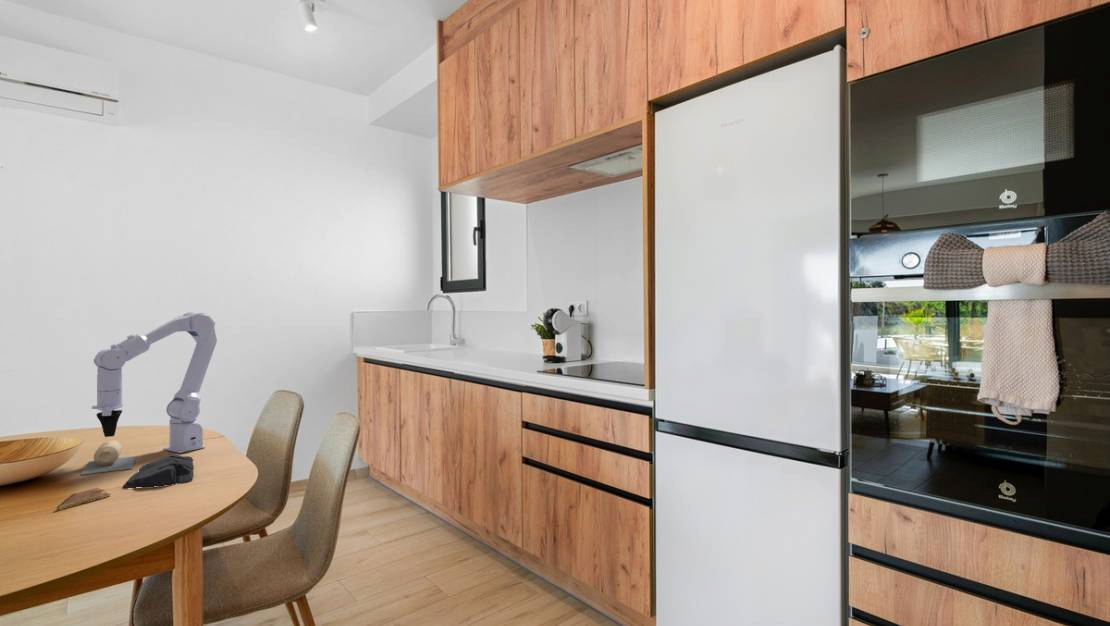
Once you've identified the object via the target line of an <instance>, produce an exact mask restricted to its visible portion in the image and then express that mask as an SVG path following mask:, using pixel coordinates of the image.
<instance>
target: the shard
mask: <svg viewBox="0 0 1110 626" xmlns="http://www.w3.org/2000/svg"><path fill="white" fill-rule="evenodd" d="M110 495H111V492H109V491H108V490H106V489H104V488H103V489H102V488H98V487H93V488H90V489H87V490H83V491H79V492H75V493H72V494H71V495H69V496H68V497H67V498H65V499H64V500H63V501H62V502H61V503H60V504H58V505H57V506H56V509H58V510H60V511H62V510H61V509H64V508H67V509H69V508H68V507H70V508H72V507H71V506H73V507H75V506H74V505H77V504H80V505H82V504H81V503H84V502H87V503H89V502H88V501H91V500H94V499H98V500H100V499H99V498H102V497H106V496H110ZM110 497H111V496H110ZM106 498H107V497H106ZM102 499H103V498H102ZM91 502H92V501H91ZM84 504H85V503H84ZM77 506H78V505H77ZM64 510H65V509H64Z"/></svg>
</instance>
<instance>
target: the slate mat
mask: <svg viewBox="0 0 1110 626" xmlns="http://www.w3.org/2000/svg"><path fill="white" fill-rule="evenodd" d="M136 458H137V455H134V456H125V457H118V458H117V460H116V461H115V462H114V463H112V464H110V465H105V466H103V465H99V464H97V463H96V462H95V460H89V461H88V462H87V464H86V466H85V467H84V469H83V470H82V472H81V473H80V476H86V475H85V474H89V475H94V474H93V473H97V474H101V473H100V472H105V473H110V472H109V471H113V472H119V471H118V470H121V471H126V470H125V469H129V470H132V469H133V466H134V464H135V462H136ZM134 461H135V462H134Z"/></svg>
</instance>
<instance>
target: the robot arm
mask: <svg viewBox="0 0 1110 626" xmlns="http://www.w3.org/2000/svg"><path fill="white" fill-rule="evenodd" d="M215 326H216V322H215V321H214V319H213V318H212V317H211V316H210V315H209V314H208V313H205V312H191V311H190V312H186V313H184V314H182V315H179V316H177V317H174V318H173V319H171V320H168V321H167V322H165V323H164V324H162V325H160V326H158V327H156V328H155V329H153V330H151V331H150V332H147V333H146V334H144V335H141V334H135V335H133V334H130V335H128V336H126V338H127V339H125V340H123V341H120V342H119V343H117V344H116V343H113V344H111V345H110V348H105V349H102V350H100V351H98V352H97V354H95V357H94V358H93V363H94V365H95V366H96V369H97V375H96V405H92V406H91V410H98V411H100V412H97V413H96V417H97V419H98V421H99V423H100V425H101V428H102V432H103V433H102V434H103V435H104V437H105V438H109V437H115V434H116V431H117V426H118V421H119V419H120V417H121V414H122V412H123V410H122V409H121V408H123V407H124V404H123V372H122V370H123V369H122V368H123V366H125V364H126V362H128V361H131V360H132V359H135V358H136V357H138V356H140V355H143V353H146V352H148V351H149V350H150V347H151V345H152V344H154V343H156V342H159V341H160V340H163V339H165V338H167V337H169V336H170V335H173V334H175V333H177V332H186V333H188V334H189V335H191V337H192V338H193V339H194V341H195V342H196V344H195V346H194V347H195V348H194V350H193V352H192V355H191V359H190V361H189V364H188V367H187V369H186V372H185V374H184V378H183V381H182V382H181V386H180V388H179V390H178V391H177V392H176V393H175V394H174V396H173V397H172V398H173V399H172V400H171V401H170V402H168V404H167V406H166V409H165V411H166V414H167V415H168V417H170V419H169V445H168V446H164V447H162V450H166V451H169V452H175V453H178V454H179V453H180V454H182V453H186V452H190V451H194V450H199V449H204V448H206V445H204V444H203V443H204V442H203V440H204V439H203V438H204V437H203V433H204V432H203V427H202V425H201V424H200V423H198V422H197V418H198V417H199V415H200V412H201V408H200V402H201V397H200V390H201V388H202V384H203V383H204V379H205V376H206V374H207V370H208V368H209V364H210V362H211V359H212V356H213V354H214V351H215V347H216V345H217V343H218V342H217V335H216V330H215Z"/></svg>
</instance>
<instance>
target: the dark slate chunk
mask: <svg viewBox="0 0 1110 626" xmlns="http://www.w3.org/2000/svg"><path fill="white" fill-rule="evenodd" d="M194 469H195V468H194V459H193V457H192V456H190V455H189V456H188V455H186V456H185V455H184V456H183V455H175V454H172V455H168V456H165V457H163V458H160V459H157V460H155V461H152V462H149V463H147V464H144V465H142V466H141V467H140V468H139V469H138V470H139V472H138V471H137V472H136V473H134V474H133V475H131V476H130V477H129V478H128V480H126V481H125V483H124V484H123V485H122V487H121V489H122V488H136V487H153V488H155V487H154V486H162V487H165V486H164V485H170V486H173V485H172V484H175V485H177V484H176V483H181V484H183V483H182V482H185V483H189V481H190V482H192V481H193V478H194Z"/></svg>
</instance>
